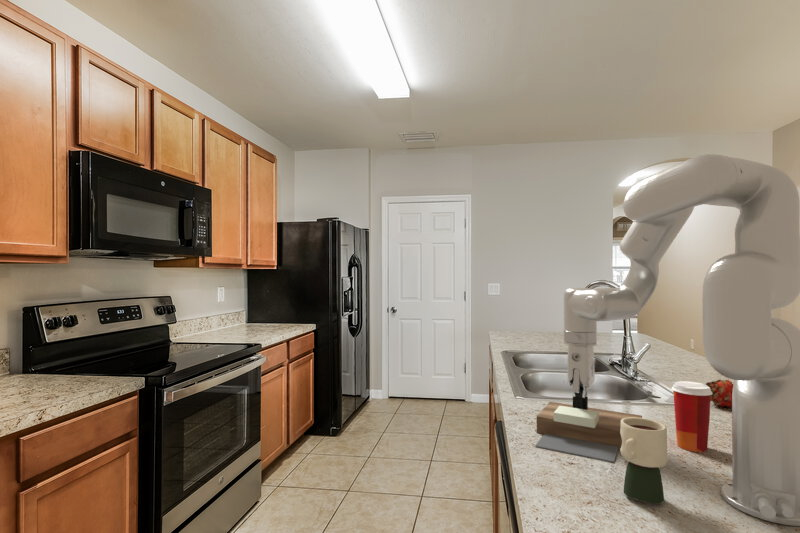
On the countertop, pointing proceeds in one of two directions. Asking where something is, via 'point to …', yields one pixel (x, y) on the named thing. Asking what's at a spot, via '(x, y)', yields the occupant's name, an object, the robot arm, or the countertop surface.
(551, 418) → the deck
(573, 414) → the cream rectangular block
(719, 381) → the dragon fruit
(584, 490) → the countertop surface
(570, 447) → the mat
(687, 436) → the paper cup
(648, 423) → the character mug
